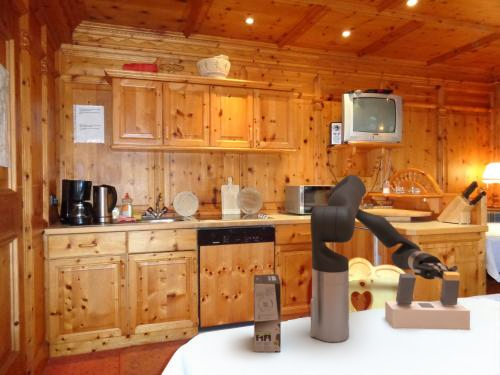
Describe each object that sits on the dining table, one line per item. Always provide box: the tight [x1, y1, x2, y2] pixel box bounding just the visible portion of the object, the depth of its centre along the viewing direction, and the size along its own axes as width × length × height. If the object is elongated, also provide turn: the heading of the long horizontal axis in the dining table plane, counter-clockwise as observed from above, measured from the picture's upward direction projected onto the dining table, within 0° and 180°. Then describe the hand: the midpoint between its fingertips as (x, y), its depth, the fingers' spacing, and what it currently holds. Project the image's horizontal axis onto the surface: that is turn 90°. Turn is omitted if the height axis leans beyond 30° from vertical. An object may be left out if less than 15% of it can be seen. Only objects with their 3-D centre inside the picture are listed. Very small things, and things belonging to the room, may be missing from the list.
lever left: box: [395, 273, 417, 305], centre depth 101 cm, size 4×2×9 cm, turn 86°
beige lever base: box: [384, 300, 471, 330], centre depth 103 cm, size 20×7×5 cm, turn 85°
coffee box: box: [253, 273, 282, 353], centre depth 91 cm, size 9×6×16 cm
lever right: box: [439, 271, 461, 305], centre depth 101 cm, size 4×2×9 cm, turn 86°
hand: (449, 277), depth 101 cm, fingers closed
